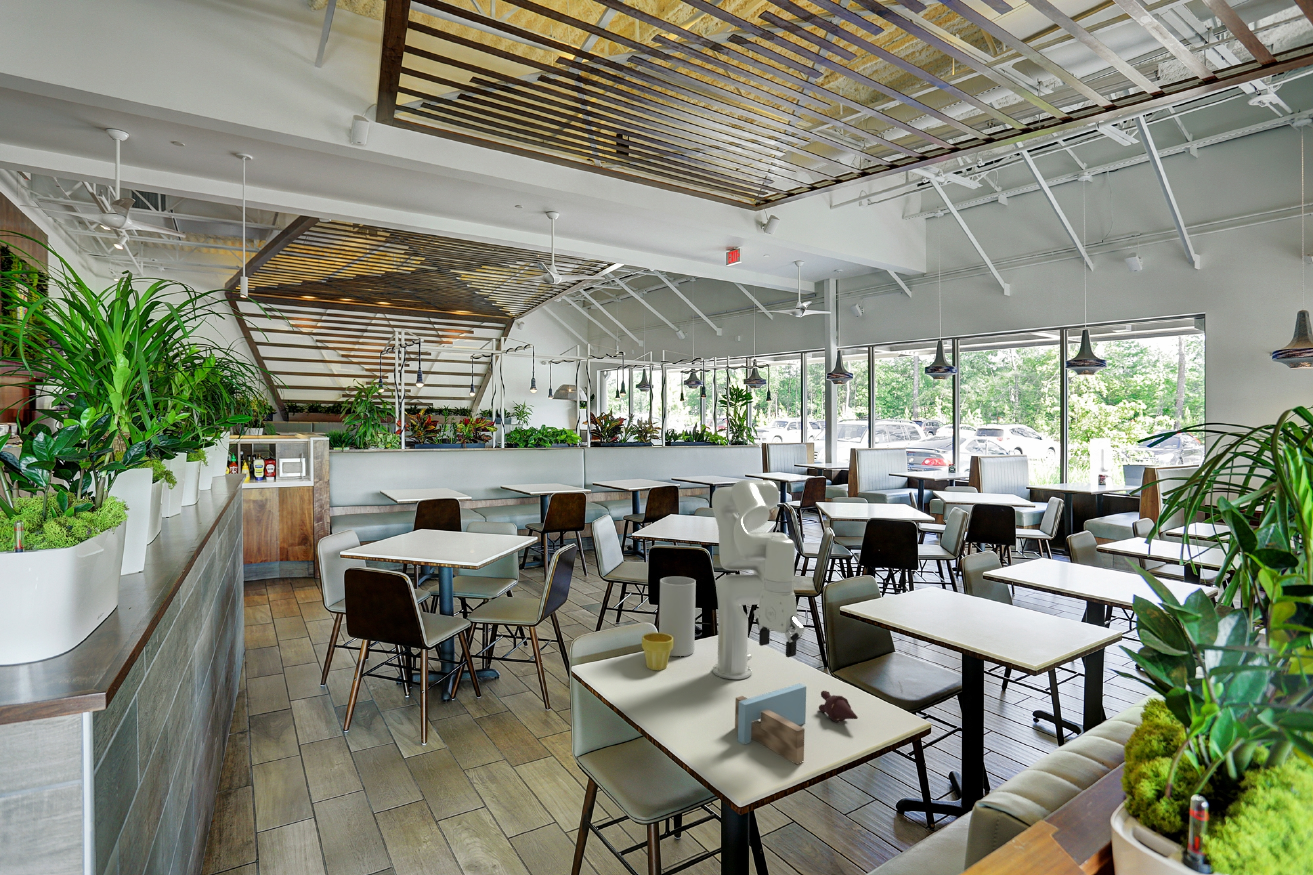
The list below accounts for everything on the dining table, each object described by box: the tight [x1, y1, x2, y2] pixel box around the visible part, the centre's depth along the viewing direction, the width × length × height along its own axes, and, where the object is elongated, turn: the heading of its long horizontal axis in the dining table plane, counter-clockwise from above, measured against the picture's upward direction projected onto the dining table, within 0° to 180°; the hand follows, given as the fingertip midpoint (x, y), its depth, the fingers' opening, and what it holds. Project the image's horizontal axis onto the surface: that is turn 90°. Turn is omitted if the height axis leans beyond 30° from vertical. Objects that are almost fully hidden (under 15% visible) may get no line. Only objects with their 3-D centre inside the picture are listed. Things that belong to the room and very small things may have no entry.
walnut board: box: [734, 695, 805, 765], centre depth 163 cm, size 22×2×8 cm, turn 34°
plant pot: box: [641, 632, 673, 671], centre depth 214 cm, size 10×10×10 cm
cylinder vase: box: [658, 576, 697, 658], centre depth 228 cm, size 12×12×25 cm
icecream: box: [818, 690, 859, 723], centre depth 177 cm, size 7×7×15 cm
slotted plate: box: [737, 683, 807, 745], centre depth 170 cm, size 22×2×10 cm, turn 124°
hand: (777, 650), depth 170 cm, fingers open, 9 cm apart
